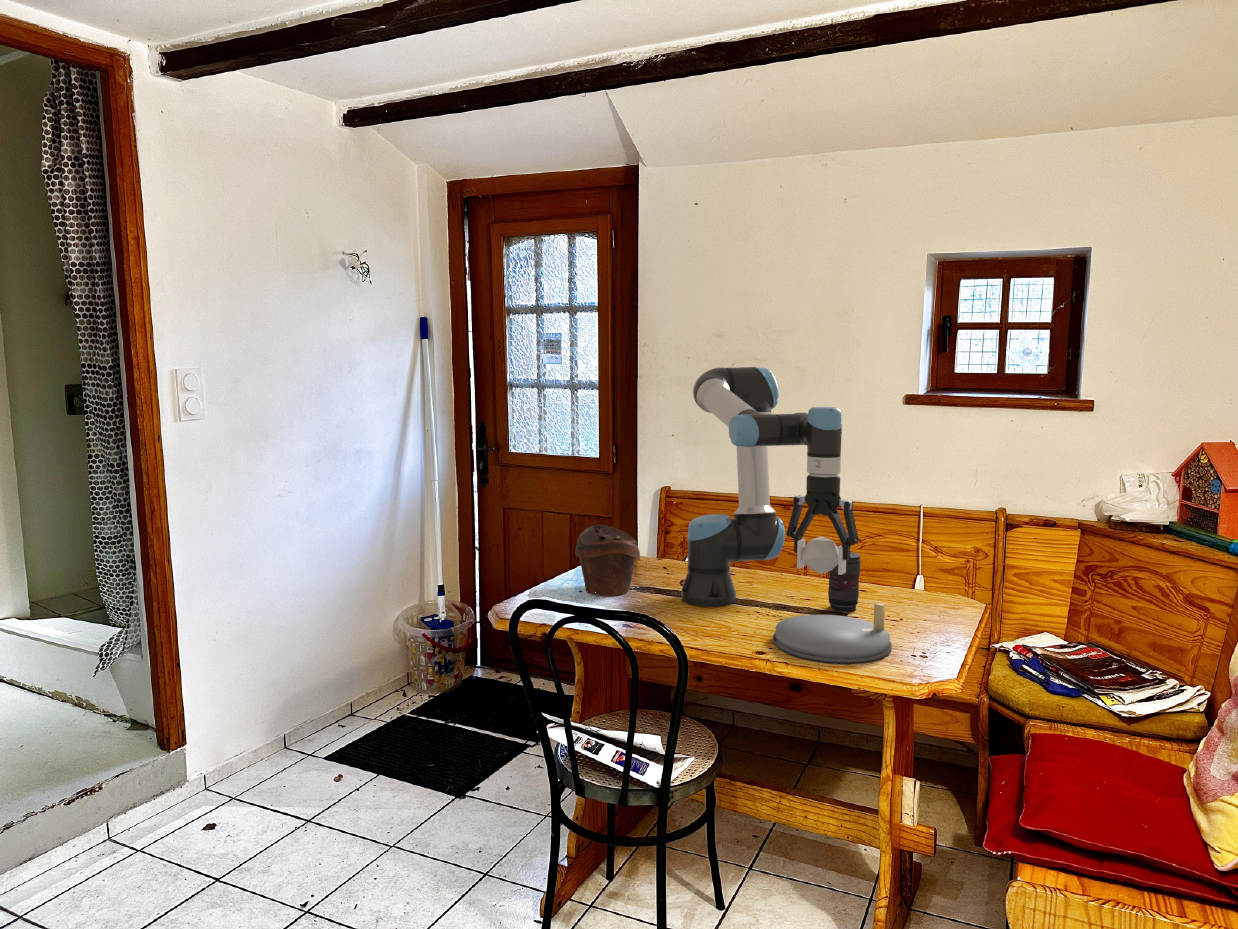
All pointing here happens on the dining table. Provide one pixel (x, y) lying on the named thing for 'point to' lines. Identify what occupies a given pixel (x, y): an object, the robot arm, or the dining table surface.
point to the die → (821, 555)
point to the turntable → (835, 635)
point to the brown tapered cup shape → (606, 560)
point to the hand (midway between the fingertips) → (821, 570)
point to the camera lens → (845, 586)
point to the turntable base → (832, 660)
